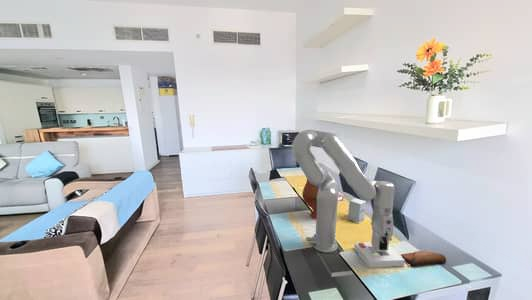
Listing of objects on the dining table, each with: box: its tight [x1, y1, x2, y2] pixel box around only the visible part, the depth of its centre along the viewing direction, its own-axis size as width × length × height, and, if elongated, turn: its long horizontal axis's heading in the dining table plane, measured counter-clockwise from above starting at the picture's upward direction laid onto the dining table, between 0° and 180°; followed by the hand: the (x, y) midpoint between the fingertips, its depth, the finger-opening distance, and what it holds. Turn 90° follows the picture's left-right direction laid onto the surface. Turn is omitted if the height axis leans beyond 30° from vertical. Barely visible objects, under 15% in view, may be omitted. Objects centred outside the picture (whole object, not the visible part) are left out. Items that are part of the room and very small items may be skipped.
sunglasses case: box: [400, 250, 447, 267], centre depth 102 cm, size 18×7×7 cm
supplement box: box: [347, 197, 367, 224], centre depth 139 cm, size 7×7×13 cm
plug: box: [371, 229, 390, 251], centre depth 102 cm, size 5×5×8 cm
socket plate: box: [353, 241, 406, 269], centre depth 104 cm, size 16×14×4 cm
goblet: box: [302, 178, 319, 220], centre depth 141 cm, size 19×19×25 cm
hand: (379, 245), depth 103 cm, fingers closed on plug, 5 cm apart
